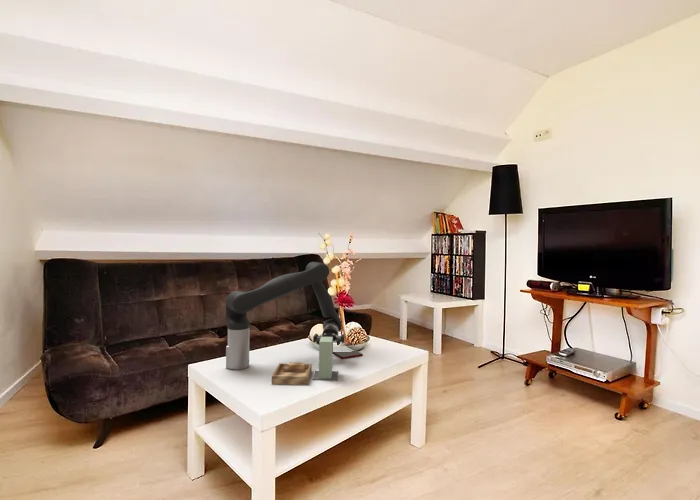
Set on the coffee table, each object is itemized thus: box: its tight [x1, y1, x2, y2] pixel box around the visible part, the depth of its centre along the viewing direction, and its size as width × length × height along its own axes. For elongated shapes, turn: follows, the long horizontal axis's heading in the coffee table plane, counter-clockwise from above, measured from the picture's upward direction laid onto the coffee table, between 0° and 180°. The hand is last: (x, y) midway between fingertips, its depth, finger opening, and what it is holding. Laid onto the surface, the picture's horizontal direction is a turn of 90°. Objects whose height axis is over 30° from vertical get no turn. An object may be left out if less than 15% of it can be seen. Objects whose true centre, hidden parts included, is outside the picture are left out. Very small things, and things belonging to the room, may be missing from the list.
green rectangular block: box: [318, 337, 334, 379], centre depth 159 cm, size 5×8×15 cm, turn 179°
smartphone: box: [333, 350, 364, 360], centre depth 195 cm, size 12×2×25 cm
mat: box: [312, 370, 339, 381], centre depth 159 cm, size 10×10×1 cm
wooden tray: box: [271, 362, 313, 386], centre depth 157 cm, size 14×15×3 cm
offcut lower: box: [283, 366, 306, 372], centre depth 161 cm, size 9×3×2 cm, turn 89°
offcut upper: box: [288, 361, 306, 369], centre depth 161 cm, size 6×3×2 cm, turn 89°
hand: (328, 342), depth 169 cm, fingers open, 8 cm apart
